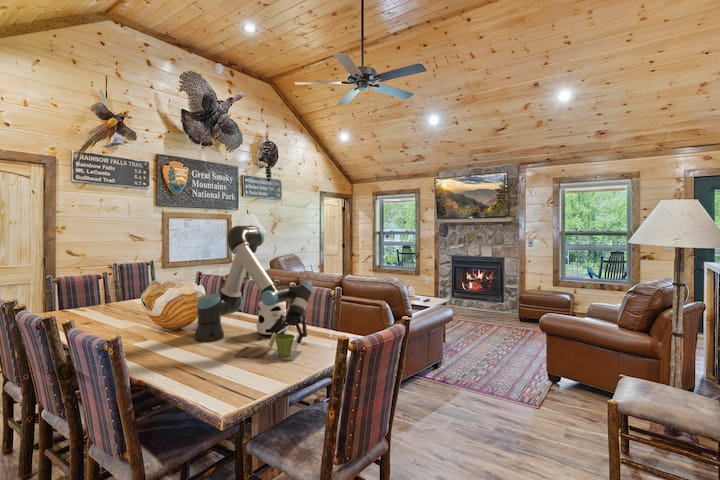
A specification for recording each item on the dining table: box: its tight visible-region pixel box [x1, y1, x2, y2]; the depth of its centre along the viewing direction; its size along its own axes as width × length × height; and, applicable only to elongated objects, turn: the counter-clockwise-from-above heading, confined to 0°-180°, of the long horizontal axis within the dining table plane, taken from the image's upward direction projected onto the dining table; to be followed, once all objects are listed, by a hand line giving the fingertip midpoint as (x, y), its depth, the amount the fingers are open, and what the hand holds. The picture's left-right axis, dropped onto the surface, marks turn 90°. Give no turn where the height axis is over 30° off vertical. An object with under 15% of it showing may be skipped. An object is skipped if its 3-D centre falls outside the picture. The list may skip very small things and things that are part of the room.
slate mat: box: [266, 349, 303, 362], centre depth 181 cm, size 13×13×1 cm
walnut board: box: [233, 345, 272, 360], centre depth 184 cm, size 13×13×1 cm
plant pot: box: [275, 333, 296, 357], centre depth 181 cm, size 9×9×9 cm
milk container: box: [256, 300, 289, 337], centre depth 218 cm, size 17×17×18 cm
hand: (281, 347), depth 179 cm, fingers open, 12 cm apart
